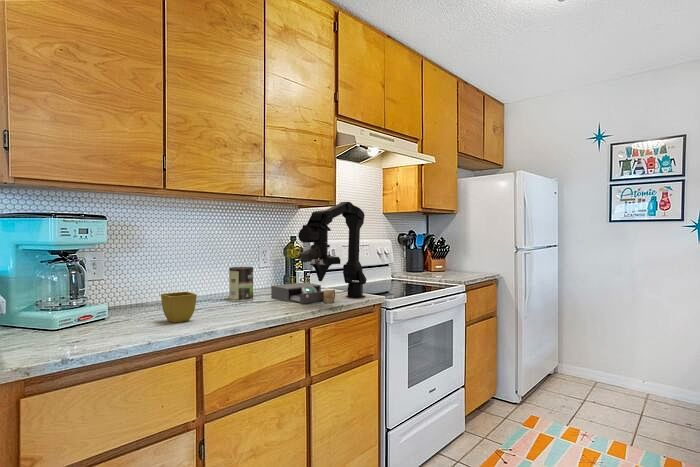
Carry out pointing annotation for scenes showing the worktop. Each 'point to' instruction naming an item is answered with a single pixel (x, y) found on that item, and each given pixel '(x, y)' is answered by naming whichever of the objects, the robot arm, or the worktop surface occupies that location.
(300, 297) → the tray
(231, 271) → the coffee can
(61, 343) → the worktop surface
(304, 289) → the disc
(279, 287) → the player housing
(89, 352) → the worktop surface
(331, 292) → the oak stand
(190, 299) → the flower pot
